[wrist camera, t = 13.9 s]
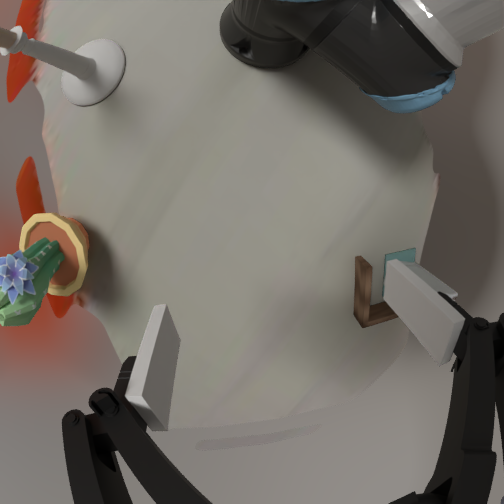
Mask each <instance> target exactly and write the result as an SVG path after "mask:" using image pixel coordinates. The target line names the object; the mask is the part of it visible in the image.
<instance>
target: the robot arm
mask: <svg viewBox="0 0 504 504" xmlns="http://www.w3.org/2000/svg"><path fill="white" fill-rule="evenodd" d="M503 28H504V0H233V1H232V2H231V3H230V4H229V5H228V6H227V7H226V8H225V10H224V11H223V13H222V16H221V19H220V36H221V39H222V42H223V44H224V45H225V47H226V48H227V50H228V51H229V52H230V53H231V54H232V55H233V56H235V57H236V58H237V59H239V60H241V61H243V62H245V63H247V64H250V65H253V66H256V67H262V68H278V67H283V66H287V65H289V64H292V63H294V62H296V61H297V60H299V59H300V58H301V57H302V56H303V55H304V54H305V53H306V52H307V51H308V50H309V48H311V49H312V50H313V51H315V52H316V53H317V54H319V55H320V56H321V57H323V58H324V59H326V60H327V61H328V62H329V63H331V64H332V65H333V66H335V67H336V68H337V69H338V70H340V71H341V72H342V73H343V74H345V75H346V76H347V77H348V78H349V79H351V80H352V81H353V82H354V83H355V84H357V85H358V86H359V89H360V90H361V91H362V92H363V93H364V94H366V95H368V96H370V97H371V98H372V99H374V100H375V101H376V102H377V103H378V104H379V105H380V106H382V107H383V108H385V109H387V110H389V111H391V112H395V113H412V112H416V111H420V110H423V109H425V108H428V107H430V106H432V105H434V104H435V103H437V102H439V101H440V100H441V99H442V95H444V94H448V93H449V92H450V91H451V89H452V88H453V86H454V83H455V80H456V79H455V72H454V70H455V69H457V68H459V67H461V66H462V58H463V50H464V48H466V47H467V46H469V45H471V44H473V43H475V42H477V41H479V40H481V39H483V38H485V37H487V36H489V35H491V34H493V33H495V32H497V31H499V30H502V29H503ZM384 300H385V301H386V302H387V304H388V305H389V306H390V307H391V308H392V309H393V311H394V312H395V313H396V314H397V315H398V316H399V318H400V319H401V320H402V321H403V322H404V323H405V325H406V326H407V327H408V328H409V329H410V331H411V332H412V333H413V334H414V335H415V336H416V338H417V339H418V340H419V342H420V343H421V344H422V345H423V346H424V348H425V349H426V350H427V352H428V353H429V354H430V355H431V357H432V358H433V359H434V360H435V362H436V363H437V364H438V365H439V366H441V365H443V364H445V363H447V362H449V361H450V359H451V357H452V354H453V352H454V353H455V355H456V356H457V357H456V360H455V362H454V364H453V367H452V369H451V372H453V369H454V378H453V387H452V395H451V402H450V408H449V414H448V419H447V424H446V429H445V434H444V438H443V442H442V446H441V451H440V454H439V458H438V461H437V465H436V468H435V471H434V474H433V476H432V478H431V480H430V482H429V483H428V485H427V487H426V489H425V491H424V493H423V494H416V493H415V491H414V492H412V493H410V494H408V495H406V496H404V497H402V498H399V499H397V500H395V501H393V502H390V503H389V504H487V501H488V497H489V494H490V490H491V485H492V481H493V476H494V471H495V466H496V456H497V455H496V453H495V452H493V451H492V449H491V448H492V439H493V429H494V417H495V402H496V407H497V412H498V418H499V424H500V432H501V439H502V449H503V462H504V313H502V314H501V315H500V317H499V320H498V322H493V323H489V322H488V321H487V320H485V319H484V318H480V317H476V318H472V317H471V316H470V315H469V314H468V313H467V312H466V311H465V310H464V309H463V308H461V307H460V306H459V305H457V303H456V302H455V301H453V299H451V298H450V297H449V296H448V295H446V294H444V293H442V292H440V291H439V292H436V291H435V290H433V289H432V288H431V287H430V286H429V285H428V284H427V283H425V282H424V281H423V280H422V279H421V278H419V277H418V276H417V275H416V274H415V273H414V272H412V271H411V270H410V269H409V268H407V267H406V266H405V265H404V264H403V263H401V262H400V261H399V260H398V259H394V260H390V261H387V264H386V278H385V289H384ZM180 341H181V340H180V338H179V335H178V333H177V330H176V328H175V325H174V322H173V320H172V317H171V315H170V312H169V309H168V306H167V304H162V305H155V306H154V308H153V311H152V313H151V316H150V319H149V322H148V325H147V328H146V330H145V333H144V336H143V339H142V342H141V345H140V348H139V351H138V354H137V356H130V357H128V358H127V359H126V360H125V362H124V363H123V365H122V368H121V370H120V373H119V376H118V379H117V382H116V385H115V388H114V391H113V390H112V389H110V388H101V389H98V390H96V391H95V392H94V393H93V394H92V395H91V396H90V398H89V406H90V408H91V409H92V410H93V411H94V412H95V413H93V414H89V415H84V414H83V413H82V412H81V411H80V410H77V409H75V410H71V411H69V412H67V413H66V414H65V415H64V417H63V419H62V432H63V442H64V451H65V458H66V465H67V471H68V476H69V482H70V486H71V491H72V495H73V500H74V504H133V503H132V500H131V498H130V495H129V493H128V490H127V487H126V485H125V482H124V479H123V476H122V473H121V471H120V467H119V464H118V461H117V458H116V455H115V451H117V450H118V451H119V453H120V454H121V456H122V457H123V459H124V460H125V462H126V463H127V465H128V466H129V468H130V469H131V471H132V472H133V474H134V475H135V476H136V478H137V479H138V481H139V482H140V483H141V485H142V486H143V487H144V489H145V490H146V491H147V493H148V494H149V495H150V496H151V497H152V499H153V500H154V501H155V502H156V504H212V503H211V502H210V501H209V500H208V499H207V498H206V497H205V496H204V495H202V494H201V493H200V492H199V491H198V490H197V489H196V488H195V487H194V486H193V485H192V484H191V483H190V482H189V481H188V480H187V479H186V478H185V477H184V476H183V475H182V473H180V471H179V470H178V469H177V468H176V467H175V466H174V465H173V464H172V463H171V461H169V459H168V458H167V457H166V456H165V455H164V453H163V452H162V451H161V450H160V449H159V447H158V446H157V445H156V444H155V443H154V441H153V440H152V439H151V438H150V436H149V435H148V434H147V433H146V428H147V425H148V427H149V428H150V429H151V430H152V431H167V430H168V422H169V414H170V406H171V399H172V392H173V385H174V378H175V371H176V365H177V359H178V353H179V347H180ZM501 504H504V496H503V497H502V499H501Z"/></svg>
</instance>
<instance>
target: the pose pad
mask: <svg viewBox="0 0 504 504" xmlns="http://www.w3.org/2000/svg"><path fill="white" fill-rule="evenodd" d="M415 251H416V248H413V249H408V250H404V251H400V252H395V253H391V254H387V255H385V267H384V278H385V275H386V264H387V261H390V260H394V259H398V260H399V261H406V262H414V261H415ZM384 289H385V286H384V285H383V292H382V296H384Z"/></svg>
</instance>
